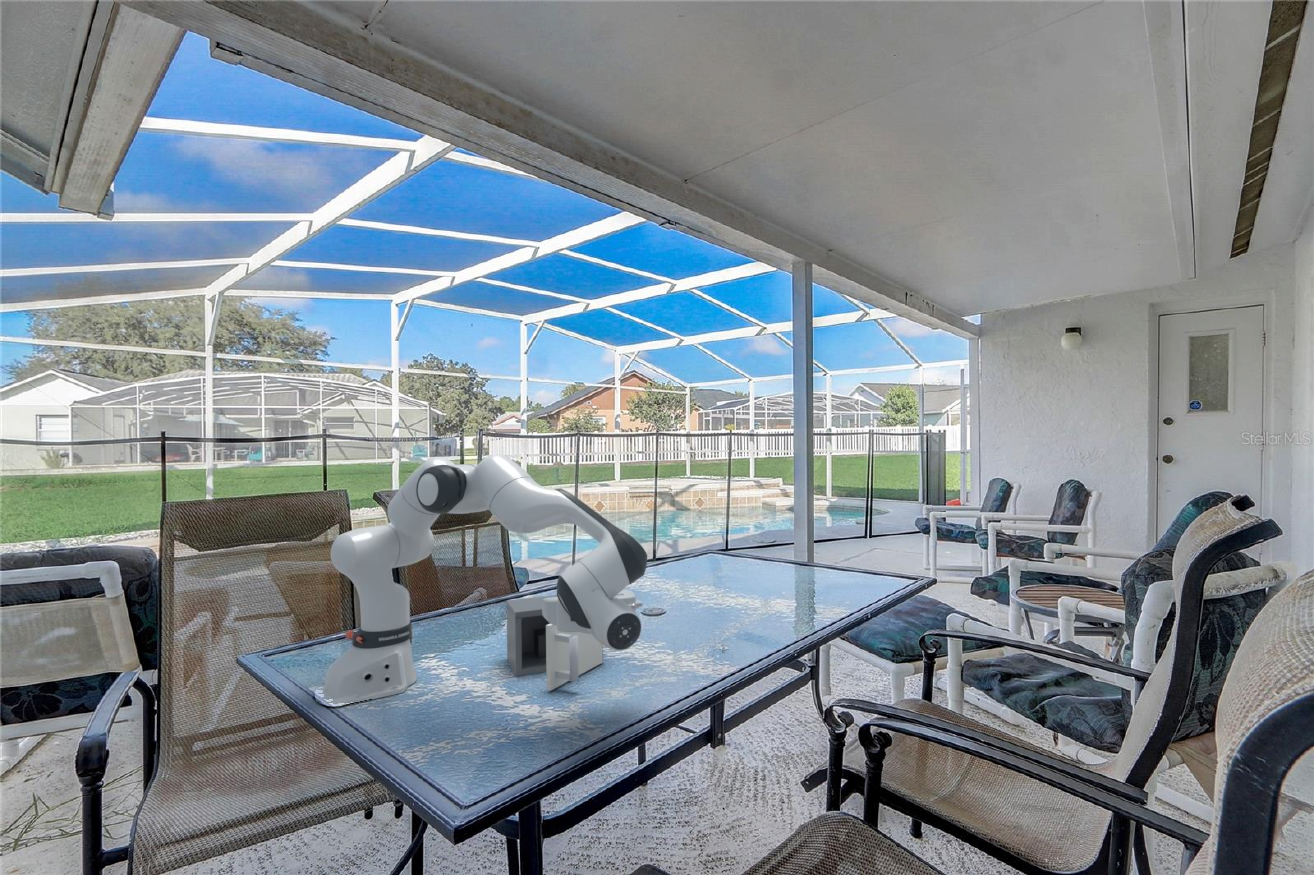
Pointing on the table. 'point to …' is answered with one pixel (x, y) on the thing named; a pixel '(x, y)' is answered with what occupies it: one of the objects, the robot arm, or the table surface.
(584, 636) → the door
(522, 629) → the box
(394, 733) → the table surface
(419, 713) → the table surface
